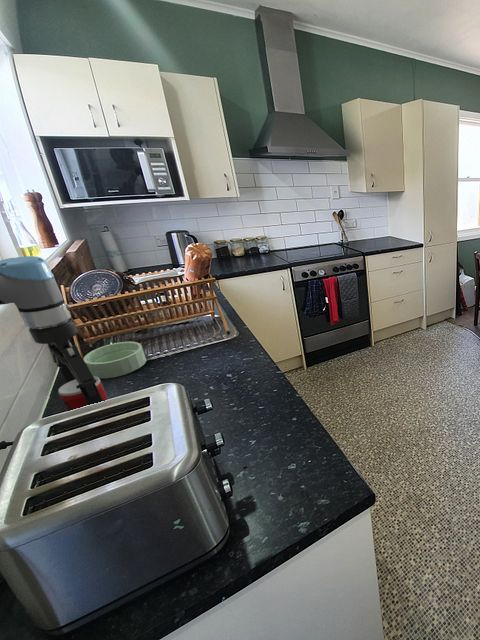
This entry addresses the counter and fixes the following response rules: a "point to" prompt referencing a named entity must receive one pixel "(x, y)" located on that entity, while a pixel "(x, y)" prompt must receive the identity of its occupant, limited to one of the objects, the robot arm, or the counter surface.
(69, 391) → the canned food
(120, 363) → the bowl
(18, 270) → the robot arm
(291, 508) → the counter surface
